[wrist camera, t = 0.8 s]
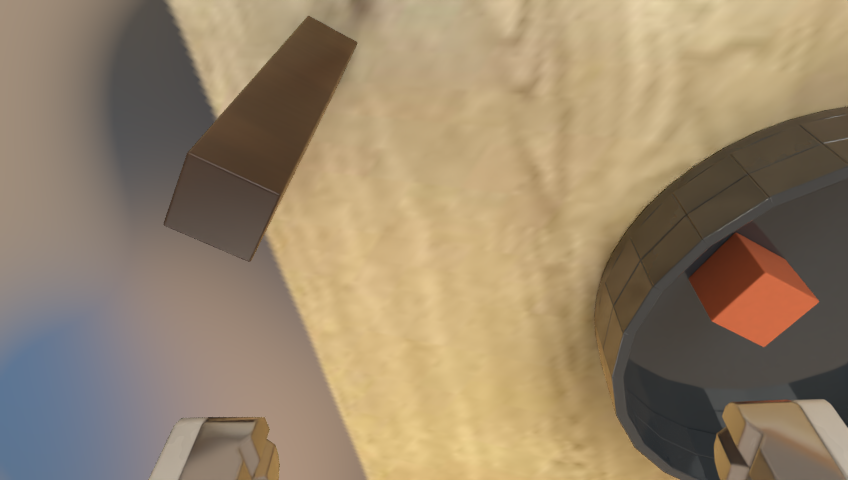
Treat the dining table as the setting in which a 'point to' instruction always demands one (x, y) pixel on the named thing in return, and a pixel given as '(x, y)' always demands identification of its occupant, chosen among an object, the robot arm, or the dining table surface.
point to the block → (751, 290)
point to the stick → (259, 143)
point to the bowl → (686, 316)
